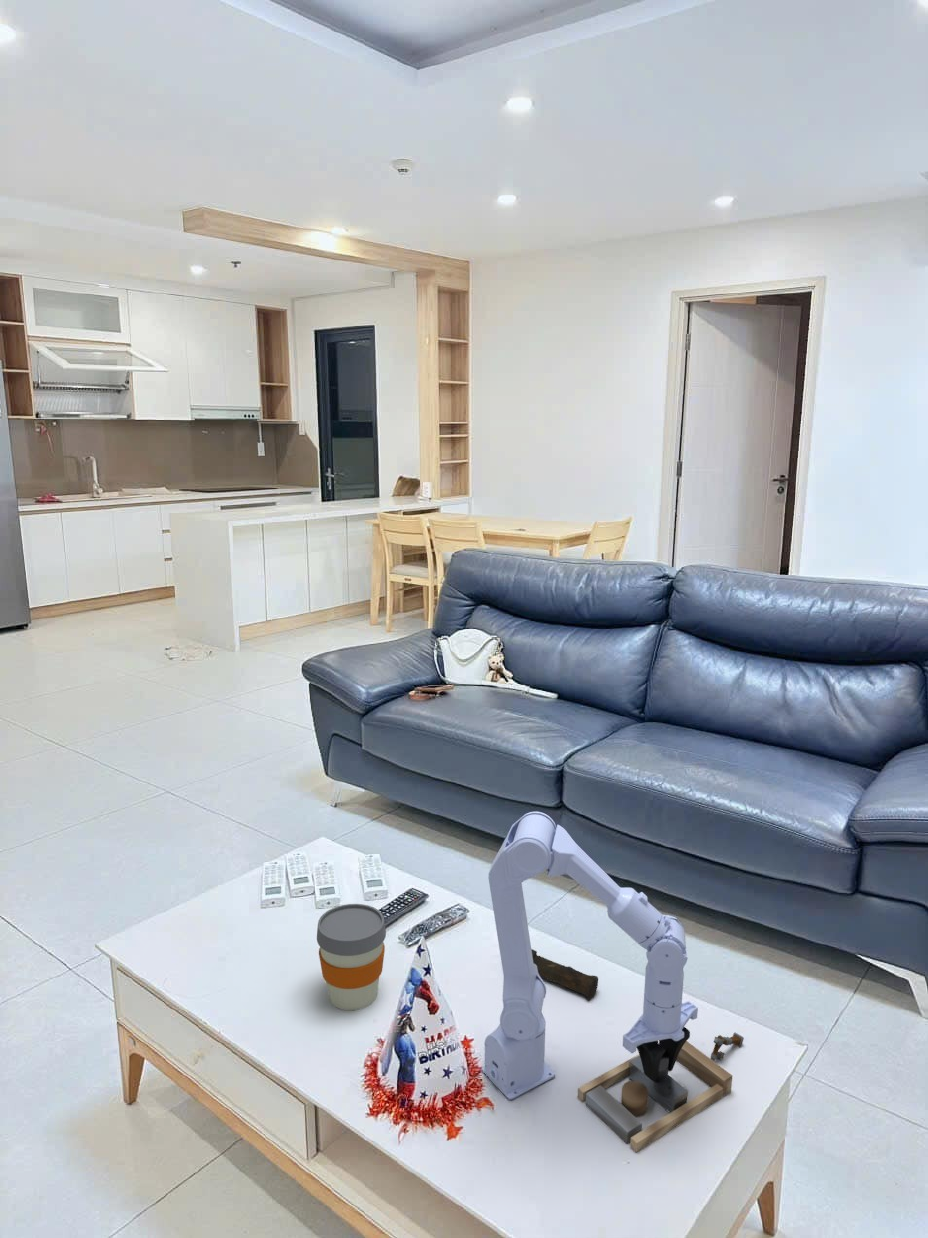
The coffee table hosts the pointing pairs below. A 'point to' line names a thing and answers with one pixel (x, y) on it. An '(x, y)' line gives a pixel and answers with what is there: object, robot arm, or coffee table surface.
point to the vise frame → (632, 1127)
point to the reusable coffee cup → (351, 954)
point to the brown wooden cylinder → (635, 1098)
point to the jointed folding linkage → (721, 1040)
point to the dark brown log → (566, 976)
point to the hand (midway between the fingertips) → (658, 1071)
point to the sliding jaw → (660, 1084)
